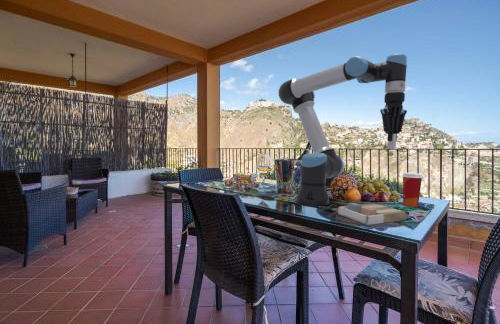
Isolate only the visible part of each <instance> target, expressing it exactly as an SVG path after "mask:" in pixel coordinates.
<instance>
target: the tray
mask: <svg viewBox="0 0 500 324" xmlns="http://www.w3.org/2000/svg"><path fill="white" fill-rule="evenodd" d="M337 214H338V215H340V216H342V217H344V218H348V219H349V220H351V221H352V220H353V221H355V222H358V223H360V224H363V225H365V226H370V225H377V224H384V223H383V222H384V215H383V214H379V215H370V216H366V215H363V214H360V213H357V212H354V211H351V210H348V205H344V206H343V205H342V206H338V211H337Z"/></svg>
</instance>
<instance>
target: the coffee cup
mask: <svg viewBox="0 0 500 324" xmlns="http://www.w3.org/2000/svg"><path fill="white" fill-rule="evenodd" d="M401 176H402V206H404V207H409V208H418V207H419V202H420V196H421V188H422V182H423V181H422V179H423V175H422V173H417V172H416V173H415V172H404V173H402V175H401Z"/></svg>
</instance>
